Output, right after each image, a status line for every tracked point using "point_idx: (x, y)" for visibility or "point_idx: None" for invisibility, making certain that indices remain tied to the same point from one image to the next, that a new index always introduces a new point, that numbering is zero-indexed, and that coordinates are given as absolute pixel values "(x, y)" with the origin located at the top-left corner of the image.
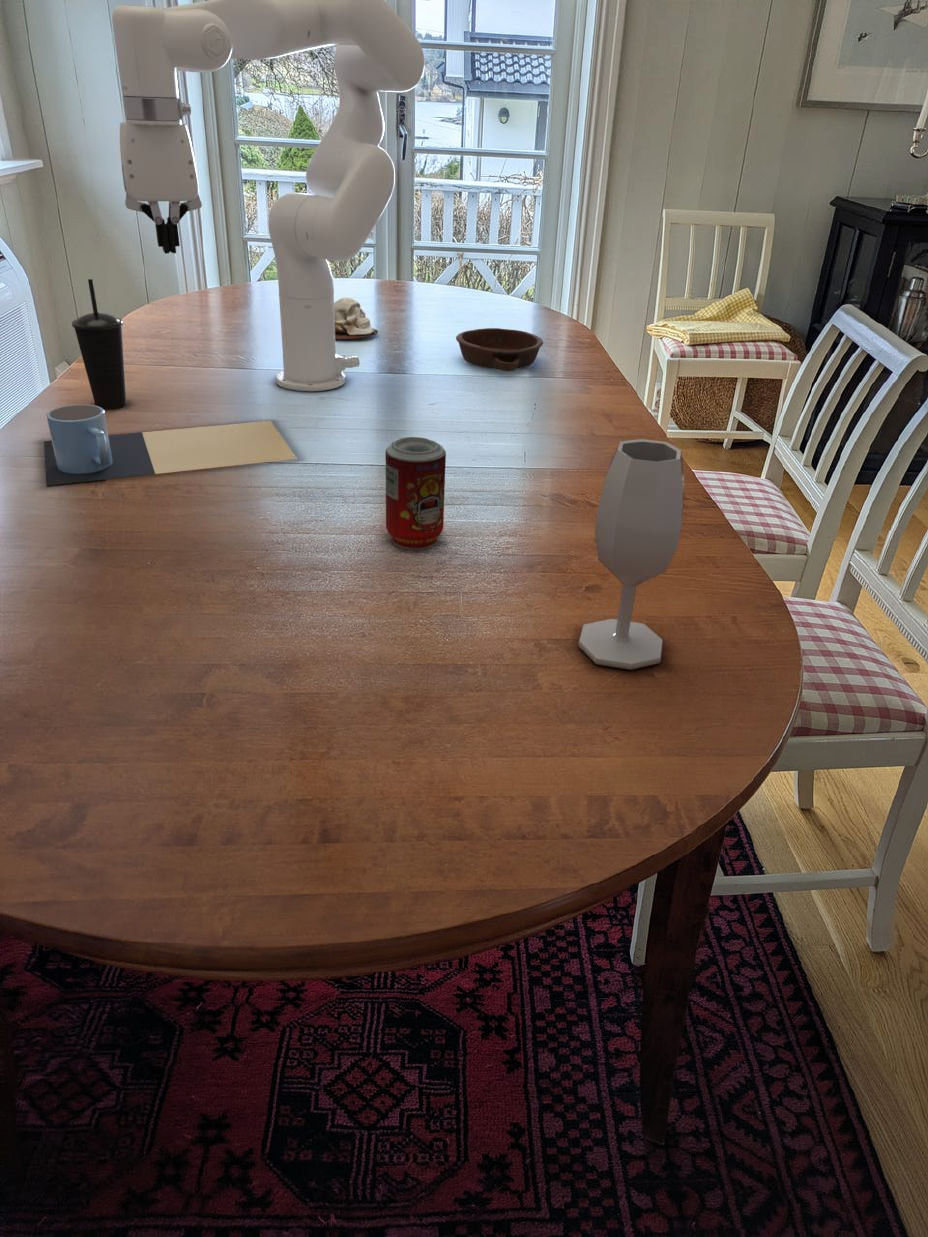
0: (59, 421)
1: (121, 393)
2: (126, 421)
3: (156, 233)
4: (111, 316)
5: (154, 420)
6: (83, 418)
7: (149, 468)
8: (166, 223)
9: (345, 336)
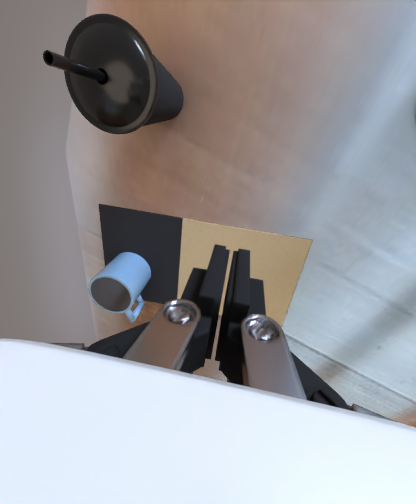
0: (99, 306)
1: (173, 115)
2: (174, 173)
3: (186, 284)
4: (133, 87)
5: (202, 182)
6: (117, 310)
7: (174, 296)
8: (223, 319)
9: None
